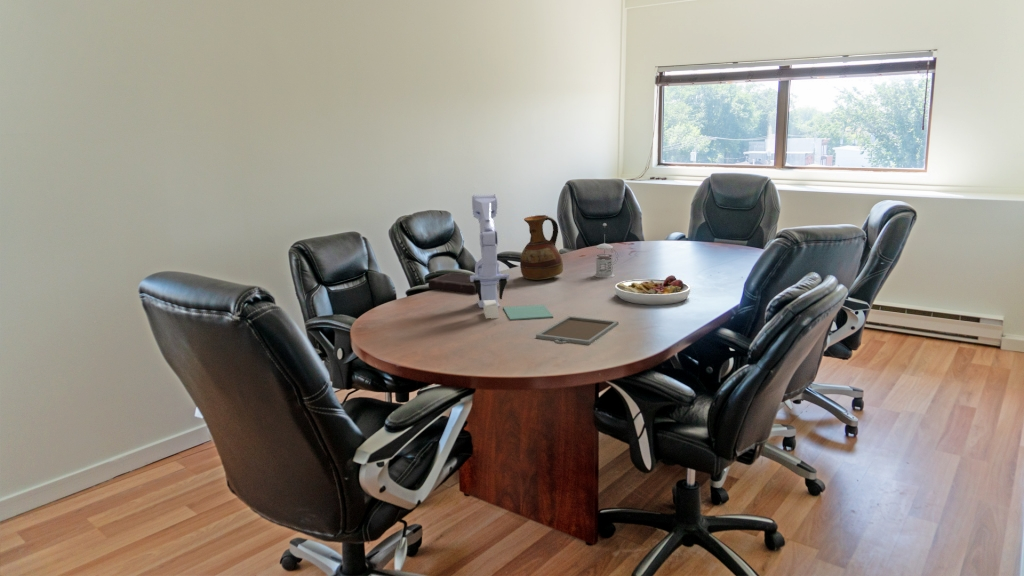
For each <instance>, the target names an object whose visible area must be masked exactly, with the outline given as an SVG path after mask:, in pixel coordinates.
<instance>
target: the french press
mask: <svg viewBox="0 0 1024 576" xmlns="http://www.w3.org/2000/svg"><path fill="white" fill-rule="evenodd" d="M602 226H603V227H606V226H608V225H607V223H605V222H604V223H603V224H602ZM605 237H606V235H604V241H603V243H600V244H598V245H596V246H595V249H597V250H604V253H601V254H596V257H597V258H596V259H595V261H596V262H595V264H596V268H595V269H596V270H595V271H596V272H595V274H594V275H593V276H594V277H597V278H604V279H605V278H606V279H607V278H613V277H615V276H616V275H615V274H614V270H613V269H614V268H613V267H614V265H615V264H616V263H617V262H618V260H619V254H618V252H617V250H616V249H613V248H614V246H612V245H611V244H609V243H606V238H605ZM606 250H610V251H611V253H613V252H614V253H615V260H614V257H613V255H612V254H609V253H608V254H607V253H606ZM612 257H613V258H612ZM613 260H614V261H613Z"/></svg>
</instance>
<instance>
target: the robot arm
mask: <svg viewBox="0 0 1024 576" xmlns="http://www.w3.org/2000/svg"><path fill="white" fill-rule="evenodd" d="M471 205H472V206H471V207H472V208H471V209H472V215H473V218H474V219H477V220H478V223H479V232H480V233H479V245H480V254H481V257H480V259H479V260H478V261H477V262H476V263H475V264H474V275H473V274H472V275H473V276H470V281H471V282H473V283H474V284H475V287H476V289H477V292H478V293H477V294H478V301H477V302H476V303H477V305H478V308H481V309H482V308H483V309H484V306H483V301H484V300H495V301H496V302H497V304H498V308H499V307H500V303H499V302H498V298H499V300H503V294H504V291H505V287H506V286H507V283H508V281H510V274H509V273H501V268H500V263H499V262H498V251H497V250H498V248H497V247H498V243H499V238H498V237H499V236H498V231H497V229H496V223H495V221H494V219H493V218H495V217H497V214H498V213H497V212H498V197H497V194H478V195H477V194H476V195H475V194H473V195H472V196H471ZM498 286H499V294H498ZM498 295H499V296H498Z"/></svg>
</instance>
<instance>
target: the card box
mask: <svg viewBox="0 0 1024 576" xmlns="http://www.w3.org/2000/svg"><path fill="white" fill-rule="evenodd" d="M497 302H498V301H497ZM497 302H496V301H495V300H484V301H483V306H484V307H483V315H484V316H485V317H484V318H485V319H486V320H487V318H491V319H499V307H498V304H497Z"/></svg>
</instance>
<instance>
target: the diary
mask: <svg viewBox="0 0 1024 576" xmlns="http://www.w3.org/2000/svg"><path fill="white" fill-rule="evenodd" d="M470 276H473V274H467V273H462V272H460V273H459V272H449V273H445V274H443V275H439V276H438V277H434V278H432V279H429V280H428V282H427V283H428V285H427V286H428V288H429V289H428V290H434V291H443V292H444V291H445V292H452V293H459V294H468V295H469V294H470V295H476V294H478V292H477V289H476V287H475V284H474V283H473V282H471V281H470Z"/></svg>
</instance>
